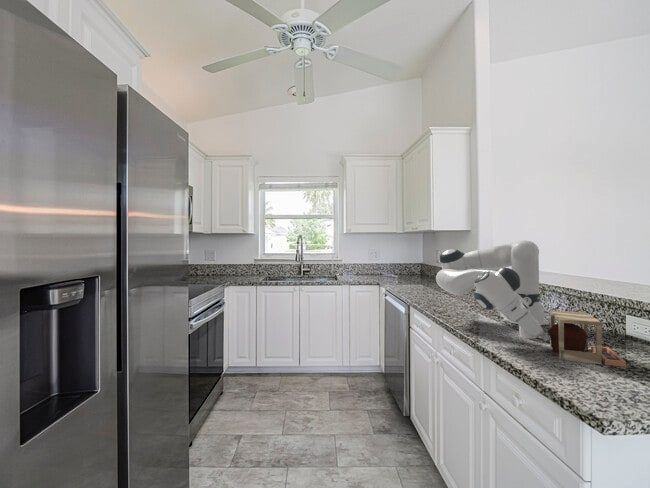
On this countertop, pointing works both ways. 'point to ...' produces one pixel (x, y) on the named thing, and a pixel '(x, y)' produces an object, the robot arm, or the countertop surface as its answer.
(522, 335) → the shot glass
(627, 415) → the countertop surface
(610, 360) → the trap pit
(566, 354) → the tunnel
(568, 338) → the muffin
